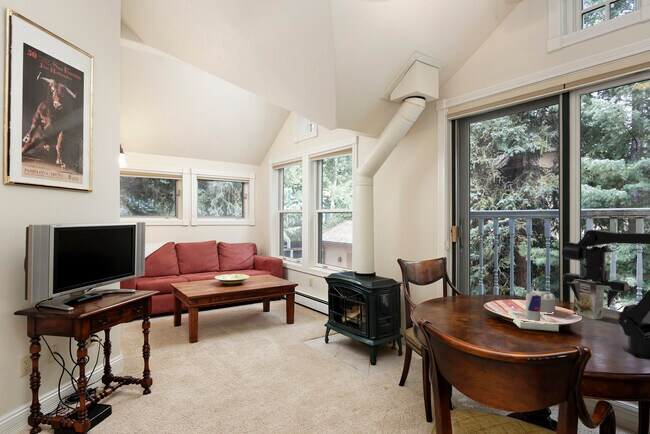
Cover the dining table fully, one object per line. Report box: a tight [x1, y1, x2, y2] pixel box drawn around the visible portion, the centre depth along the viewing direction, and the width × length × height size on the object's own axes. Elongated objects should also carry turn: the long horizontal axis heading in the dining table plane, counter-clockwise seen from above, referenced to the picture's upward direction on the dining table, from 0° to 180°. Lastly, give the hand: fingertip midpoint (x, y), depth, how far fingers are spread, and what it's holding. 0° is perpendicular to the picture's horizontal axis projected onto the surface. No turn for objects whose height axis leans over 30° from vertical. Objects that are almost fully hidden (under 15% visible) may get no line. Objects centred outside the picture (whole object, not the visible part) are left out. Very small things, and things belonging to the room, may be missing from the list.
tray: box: [507, 311, 560, 332], centre depth 141 cm, size 14×14×2 cm
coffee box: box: [572, 280, 605, 320], centre depth 152 cm, size 9×6×16 cm
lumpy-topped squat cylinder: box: [529, 290, 557, 313], centre depth 159 cm, size 10×13×9 cm
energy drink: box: [524, 292, 541, 321], centre depth 140 cm, size 5×5×12 cm
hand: (593, 304), depth 125 cm, fingers open, 9 cm apart
